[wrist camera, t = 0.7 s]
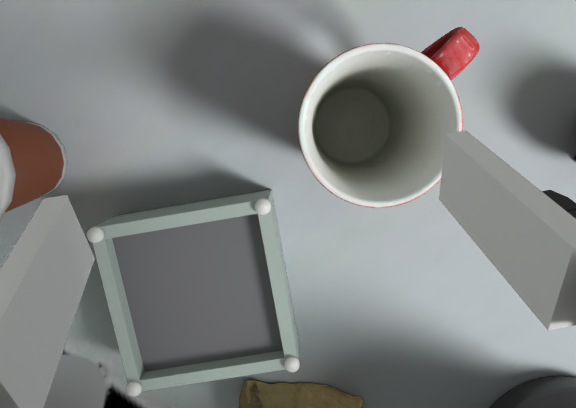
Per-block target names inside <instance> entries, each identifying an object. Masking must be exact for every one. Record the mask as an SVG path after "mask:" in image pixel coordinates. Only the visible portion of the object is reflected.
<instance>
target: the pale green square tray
mask: <svg viewBox="0 0 576 408" xmlns="http://www.w3.org/2000/svg"><path fill="white" fill-rule="evenodd" d="M87 238H88V240H89V241H90V242H92V244H93V247H94V251H95V255H96V259H97V263H98V267H99V271H100V275H101V279H102V283H103V287H104V291H105V295H106V299H107V303H108V307H109V311H110V315H111V319H112V323H113V327H114V331H115V335H116V339H117V343H118V346H119V350H120V354H121V358H122V362H123V366H124V370H125V374H126V378H127V382H128V385H127V387H126V392H127V394H128V395H130V396H132V397H135V396H138V395H139V394H140V392H143V391H150V390H156V389H163V388H169V387H176V386H182V385H188V384H195V383H201V382H208V381H214V380H221V379H227V378H234V377H240V376H247V375H253V374H260V373H266V372H273V371H279V370H287V371H288V372H295V371H297V370H298V369H299V349H298V335H297V329H296V324H295V318H294V312H293V307H292V301H291V296H290V290H289V285H288V279H287V273H286V268H285V262H284V257H283V251H282V246H281V240H280V235H279V229H278V223H277V218H276V212H275V207H274V201H273V196H272V190H265V191H259V192H254V193H248V194H242V195H236V196H230V197H224V198H218V199H212V200H206V201H200V202H195V203H189V204H183V205H177V206H171V207H165V208H159V209H153V210H147V211H141V212H136V213H130V214H124V215H118V216H113V217H111V218H109V219H107V220H105V221H104V222H102V223H100V224H98V225H96V226H94V227H92V228H90V229H89V230H88V231H87Z"/></svg>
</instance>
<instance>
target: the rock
mask: <svg viewBox="0 0 576 408" xmlns="http://www.w3.org/2000/svg"><path fill="white" fill-rule="evenodd" d="M363 402H364V401H363V399H362V397H361V396H351V395H349V394H346V393H344V392H341V391H339V390H338V389H335V388H332V387H329V386H328V385H318V384H312V383H296V384H287V383H276V384H266V383H264V382H259V381H256V380H247V381H246V382H245V384H244V387H243V390H242V392H241V395H240V401H239V408H362V405H363Z"/></svg>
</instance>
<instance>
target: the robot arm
mask: <svg viewBox="0 0 576 408" xmlns="http://www.w3.org/2000/svg"><path fill="white" fill-rule="evenodd" d="M439 200H440V201H441V202H442V204H443V205H444V206H445V207H446V208H447V210H448V211H449V212H450V213H451V214H452V216H453V217H454V218H455V219H456V220H457V222H458V223H459V224H460V225H461V226H462V228H463V229H464V230H465V231H466V232H467V234H468V235H469V236H470V237H471V238H472V240H473V241H474V242H475V243H476V244H477V246H478V247H479V248H480V249H481V250H482V252H483V253H484V254H485V255H486V256H487V258H488V259H489V260H490V261H491V262H492V264H493V265H494V266H495V267H496V268H497V270H498V271H499V272H500V273H501V274H502V276H503V277H504V278H505V279H506V280H507V282H508V283H509V284H510V285H511V287H512V288H513V289H514V290H515V291H516V293H517V294H518V295H519V296H520V297H521V299H522V300H523V301H524V302H525V303H526V305H527V306H528V307H529V308H530V309H531V311H532V312H533V313H534V314H535V315H536V317H537V318H538V319H539V320H540V321H541V323H542V324H543V325H544V326H545V327H546V329H547V330H552V329H557V328H563V327H568V326H573V325H576V203H575V202H573V201H572V200H571V199H569V198H568V197H566V196H563V195H561V194H559V193H556V192H554V191H552V190H547V191H541V190H539V189H538V188H537V187H536V186H534V185H533V184H532V183H531V182H529V181H528V180H527V179H526V178H524V177H523V176H522V175H521V174H519V173H518V172H517V171H516V170H514V169H513V168H512V167H511V166H510V165H508V164H507V163H506V162H505V161H503V160H502V159H501V158H500V157H498V156H497V155H496V154H495V153H493V152H492V151H491V150H490V149H488V148H487V147H486V146H485V145H483V144H482V143H481V142H480V141H479V140H477V139H476V138H475V137H474V136H472V135H471V134H470V133H469V132H467V131H460V132H454V133H447V134H445V143H444V153H443V164H442V175H441V185H440V196H439ZM94 260H95V258H94V255H93V253H92V251H91V248H90V246H89V244H88V242H87V239H86V237H85V235H84V232H83V230H82V228H81V226H80V223H79V221H78V219H77V216H76V214H75V212H74V210H73V207H72V205H71V203H70V200H69V198H68V196H67V195H63V196H57V197H50V198H44V199H43V200H42V202H41V204H40V205H39V207H38V209H37V210H36V212H35V214H34V215H33V217H32V219H31V220H30V222H29V223H28V225H27V227H26V228H25V230H24V232H23V233H22V235H21V237H20V238H19V240H18V242H17V243H16V245H15V247H14V248H13V250H12V251H11V253H10V255H9V256H8V258H7V260H6V261H5V263H4V265H3V266H2V268H1V270H0V408H43V407H44V404H45V402H46V399H47V396H48V393H49V390H50V387H51V384H52V381H53V378H54V376H55V373H56V369H57V367H58V364H59V361H60V358H61V355H62V352H63V350H64V347H65V344H66V341H67V338H68V335H69V332H70V329H71V326H72V323H73V321H74V318H75V315H76V312H77V309H78V306H79V303H80V300H81V297H82V294H83V292H84V289H85V286H86V283H87V280H88V277H89V274H90V271H91V268H92V266H93V263H94ZM491 408H576V378H575V377H567V376H553V377H545V378H540V379H536V380H533V381H530V382H527V383H525V384H522V385H520V386H518V387H516V388H514V389H513V390H511V391H509V392H508V393H506V394H505V395H504V396H502V397H501V398H500V399H499V400H498V401H497V402H496V403H495V404H494V405H493V406H492V407H491Z"/></svg>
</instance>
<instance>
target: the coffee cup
mask: <svg viewBox="0 0 576 408" xmlns="http://www.w3.org/2000/svg"><path fill="white" fill-rule="evenodd" d="M67 164H68V161H67V156H66V152H65V148H64V146H63V145H62V143H61V142H60V140H59V139H58V137H57V136H56V134H54V133H53V132H51V131H50V130H49V129H47V128H46V127H44V126H42V125H38V124H35V123H31V122H22V121H15V120H9V119H3V118H0V218H1V217H2V215H3V214H4V213H5V212H7V211H9V210H12V209H14V208H16V207H18V206H21V205H23V204H25V203H28V202H30V201H32V200H34V199H37V198H39V197H41V196H44V195H47V194H48V193H50V192H52V191H53V190H55V189H57V188H58V187H59V185H60V184H61V182H62V181H63V179H64V178H65V176H66V170H67Z"/></svg>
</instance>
